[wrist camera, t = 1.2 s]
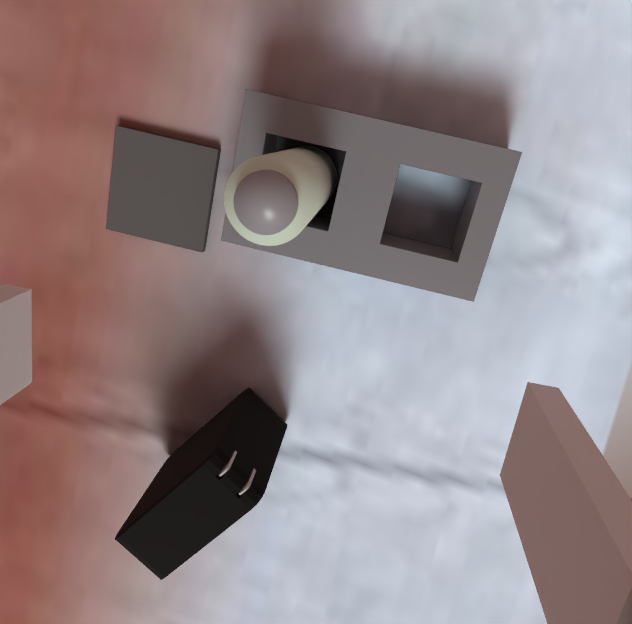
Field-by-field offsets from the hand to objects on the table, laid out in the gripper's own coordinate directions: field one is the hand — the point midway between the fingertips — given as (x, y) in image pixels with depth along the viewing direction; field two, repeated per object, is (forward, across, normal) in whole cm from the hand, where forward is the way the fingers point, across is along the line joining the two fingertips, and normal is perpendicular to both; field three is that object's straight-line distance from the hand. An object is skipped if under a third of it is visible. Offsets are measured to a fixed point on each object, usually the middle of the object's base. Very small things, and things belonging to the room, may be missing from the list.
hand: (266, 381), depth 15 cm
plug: (+25, -3, +3) cm, 25 cm away
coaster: (+25, -12, 0) cm, 28 cm away
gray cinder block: (+25, +1, +2) cm, 25 cm away
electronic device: (+25, -6, -18) cm, 32 cm away
